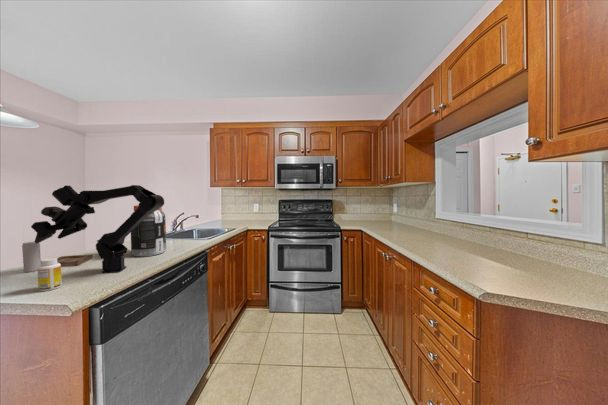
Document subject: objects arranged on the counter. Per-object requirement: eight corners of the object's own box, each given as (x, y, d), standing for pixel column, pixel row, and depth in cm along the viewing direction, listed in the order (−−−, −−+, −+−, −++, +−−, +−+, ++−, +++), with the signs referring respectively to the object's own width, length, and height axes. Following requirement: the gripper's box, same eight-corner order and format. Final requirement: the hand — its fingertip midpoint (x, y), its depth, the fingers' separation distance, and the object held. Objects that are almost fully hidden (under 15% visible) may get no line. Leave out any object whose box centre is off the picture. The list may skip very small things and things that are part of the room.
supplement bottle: (61, 283, 86) (59, 256, 86) (62, 288, 83) (61, 258, 82) (38, 288, 82) (36, 259, 82) (38, 293, 79) (37, 262, 78)
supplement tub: (172, 252, 131) (171, 205, 129) (140, 259, 118) (138, 206, 116) (157, 248, 139) (155, 203, 138) (125, 254, 126) (124, 205, 125)
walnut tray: (92, 258, 118) (92, 254, 118) (77, 265, 107) (77, 261, 107) (62, 260, 115) (62, 256, 115) (43, 268, 103) (43, 263, 103)
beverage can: (29, 273, 97) (27, 244, 96) (20, 272, 98) (18, 243, 97) (44, 269, 102) (42, 241, 101) (35, 268, 103) (34, 241, 102)
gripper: (79, 199, 108) (55, 223, 108) (35, 201, 89) (5, 230, 89) (98, 216, 109) (73, 240, 109) (58, 222, 90) (28, 251, 90)
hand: (47, 240), depth 99 cm, fingers open, 9 cm apart
